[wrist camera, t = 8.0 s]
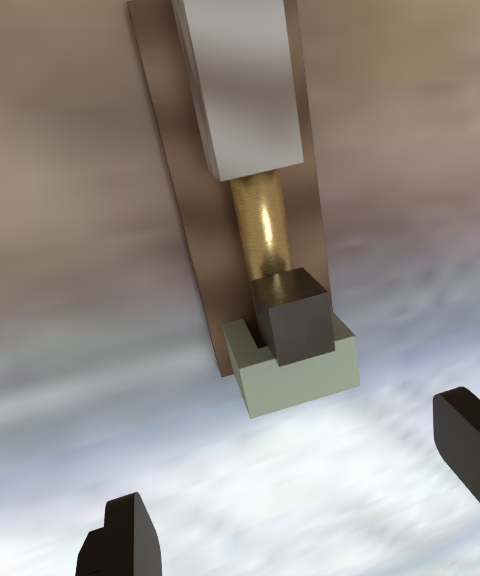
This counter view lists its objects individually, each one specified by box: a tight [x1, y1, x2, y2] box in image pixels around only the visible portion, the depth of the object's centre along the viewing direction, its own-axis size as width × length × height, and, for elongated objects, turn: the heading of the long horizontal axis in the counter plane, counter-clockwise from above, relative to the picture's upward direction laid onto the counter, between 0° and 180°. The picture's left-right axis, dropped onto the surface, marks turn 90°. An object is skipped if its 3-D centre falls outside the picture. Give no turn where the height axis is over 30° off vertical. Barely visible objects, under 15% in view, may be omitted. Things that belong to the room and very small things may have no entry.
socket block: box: [222, 311, 360, 419], centre depth 33 cm, size 4×8×6 cm, turn 101°
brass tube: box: [229, 168, 335, 367], centre depth 28 cm, size 17×4×8 cm, turn 11°
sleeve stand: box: [127, 0, 333, 377], centre depth 30 cm, size 26×10×6 cm, turn 11°
